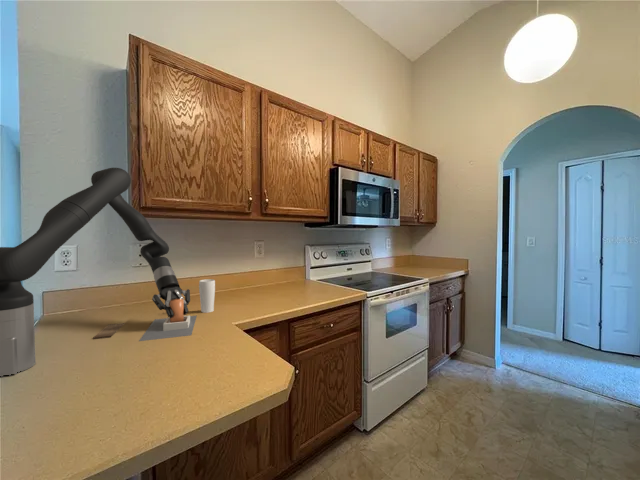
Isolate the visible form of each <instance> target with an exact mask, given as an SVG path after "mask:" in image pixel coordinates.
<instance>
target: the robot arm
mask: <svg viewBox="0 0 640 480" xmlns="http://www.w3.org/2000/svg"><path fill="white" fill-rule="evenodd" d="M90 180H91V184H92V185H90V186H88V187H86V188H84V189H82V190H80V191H78V192H76V193H73V194H71V195H70V196H68V197H66V198H63V200H61V201H59V202H58V203H57V204H56V205H54V206H53V207H52V208H50V209H49V210H48V211H46V213H45V215H44V216H43V218H42V221H41V223H40V227H39V228H38V229H37V231H36V232H35V233H34V234H33V235H31V236H29V237H28V238H27V239H26V240H25V241H22V242H21V243H20V244H18V245H16V246H14V247H11V246H10V247H9V246H0V376H1V377H4V376H3V375H9V376H12V375H11V374H15V375H17V374H18V373H21V372H23V371H26V370H28V369H30V368H32V367H34V365H36V340H35V339H36V338H35V337H36V335H35V333H36V332H35V310H34V309H35V308H34V307H35V303H34V295H33V293H32V292H30V291H28V290H27V289H26V288H25V287H24V286H23V284H22V282H23V281H26V280H29V279H30V278H32V277H33V276H35V275H36V274H38V272H39V271H40V270H41V269H42V268H43V267H44V266H45V264H46V263H47V262H48V261H49V260H50V259H51V258H52V257H53V255H54V254H55V253H56V252H57V251H58V250H59V249H60V248H61V247H62V246H64V244H66V243H67V242H68V241H69V239H71V238H72V237H73V236H75V234H76V233H78V232H79V231H80V230H81V229H82V228H83V227H85V226H86V225H87V224H88V223H90V222H91V220H92V219H93V218H94V217H95V216H96V215H98V214H99V213H100V212H101V211H102V210H103V209H104V208H105V207H106V206H107V205H109V206H110V207H111V208H112V209H113V210H114V211H115V212H116V213H117V214H118V216H119V217H120V218H121V219H122V220H123V222H124V223H125V224H126V226H127V227H128V228H129V230H130V231H131V233H132V235H133V236H134V237H135V239H136V240H137V241H138V242H145V241H151V242H149V243H146V244H144V245H143V246H142V247H141V248H140V249H139V251H140V255H141V256H142V258H143V259H145V261H146V262H147V263H148V264H149V266H150V268H151V271H152V275H153V279H154V282H155V285H156V287H157V291H158V292H159V293H158V294H156V293H155V294H153V296H152V299H151V301H152V302H153V303H154V304H155V306H156V307H157V308H158V309H159V311H163V310H164V311H165V313H166V315H167V318H168V317H170V318H173V316H174V314H173V311H172V308H171V307H170V301H171V300H173V299H184V316H188V315H187V314H188V313H189V308H188V305H189V304H190V302H191V290H190V289H188V288H187V289H186V290H183V289H182V288H181V287H180V283H179V280H178V278H177V275H176V274H175V270H174V269H173V268H172V266H171V261H170V260H169V258H168V257H165V255H167V254H168V253H169V250H170V247H169V246H170V245H168V243H167V242H166V241H165V240H164V239H163V238H162V237H161V236H159V234H157V233H156V232H155V231H154V229H153V228H152V226H151V224H150V223H149V221H148V220H147V218H146V217H145V216H144V215H143V214H142V213H141V212H140V211H139V210H137V209H136V208H135V207H133V206H132V205H131V204H130V203H128V202H127V200H126V199H124V197H123V196H122V195H121V194H123V193H124V192H126V191H127V190H128V189H129V188H130V186H131V183H132V181H131V175H130V174H129V173H128V171H127V170H125V169H123V168H121V167H108V168H105V169H102V170H97V171H95V172H93V173H92V175H91V178H90ZM161 299H162V300H163V301H164V302H163V301H162V300H161ZM20 371H21V372H20ZM17 372H18V373H17Z"/></svg>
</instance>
